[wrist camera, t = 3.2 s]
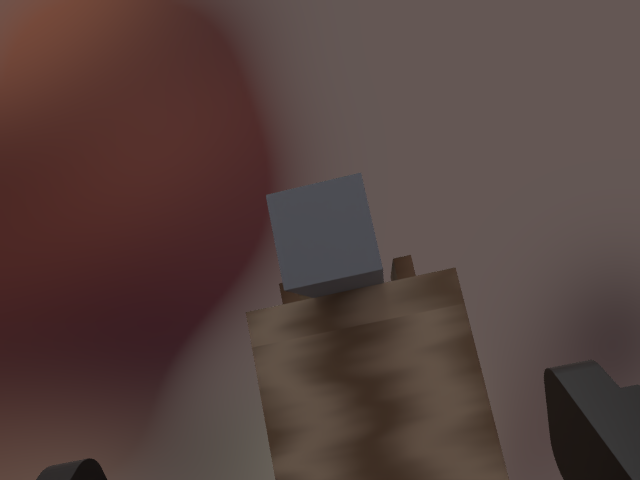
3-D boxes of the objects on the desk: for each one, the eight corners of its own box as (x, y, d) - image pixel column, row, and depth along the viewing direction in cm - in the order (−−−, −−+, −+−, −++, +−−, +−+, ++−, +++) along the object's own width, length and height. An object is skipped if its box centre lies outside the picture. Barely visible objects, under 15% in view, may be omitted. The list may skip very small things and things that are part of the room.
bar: (284, 290, 20) (265, 195, 21) (336, 303, 41) (326, 255, 42) (382, 268, 20) (360, 172, 20) (384, 293, 41) (373, 245, 42)
